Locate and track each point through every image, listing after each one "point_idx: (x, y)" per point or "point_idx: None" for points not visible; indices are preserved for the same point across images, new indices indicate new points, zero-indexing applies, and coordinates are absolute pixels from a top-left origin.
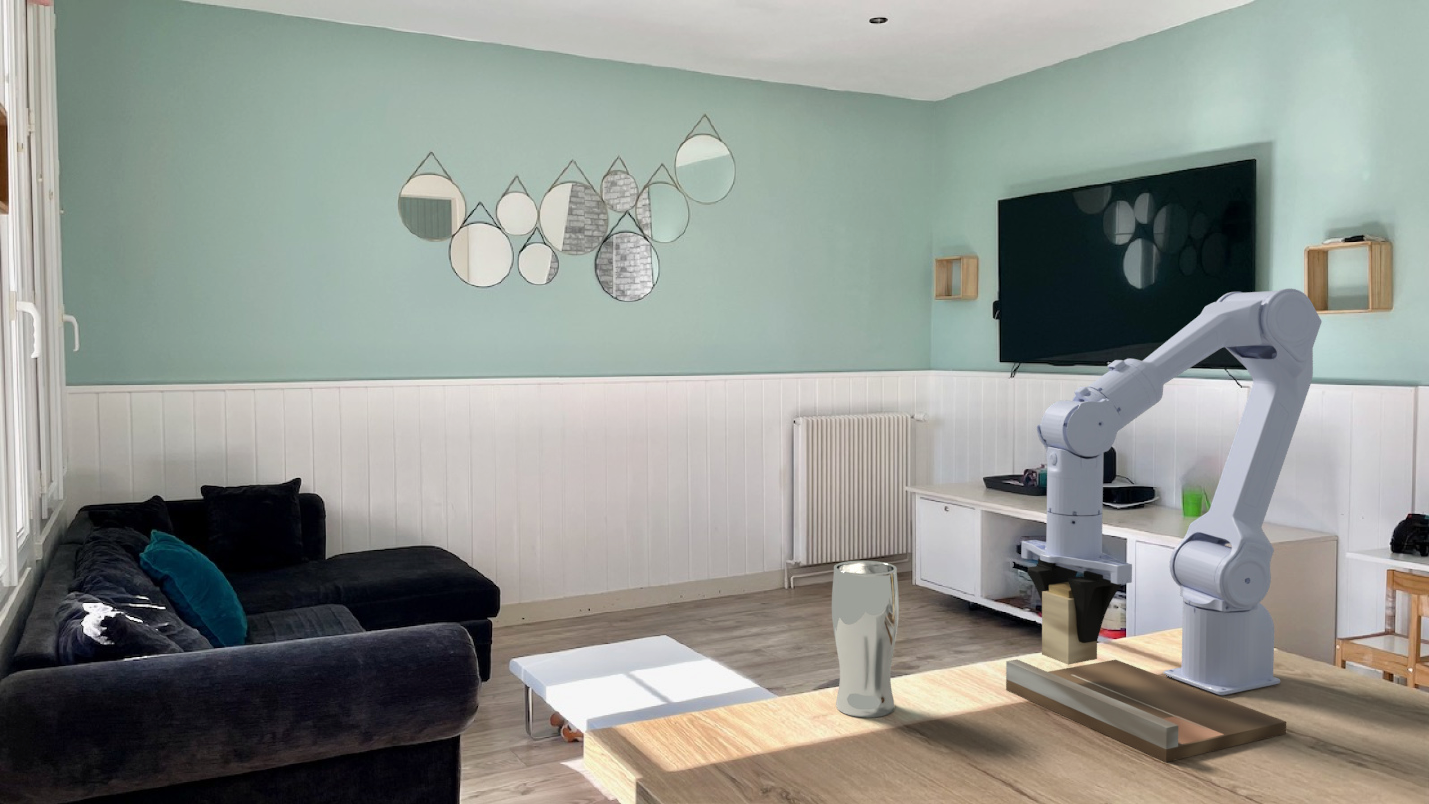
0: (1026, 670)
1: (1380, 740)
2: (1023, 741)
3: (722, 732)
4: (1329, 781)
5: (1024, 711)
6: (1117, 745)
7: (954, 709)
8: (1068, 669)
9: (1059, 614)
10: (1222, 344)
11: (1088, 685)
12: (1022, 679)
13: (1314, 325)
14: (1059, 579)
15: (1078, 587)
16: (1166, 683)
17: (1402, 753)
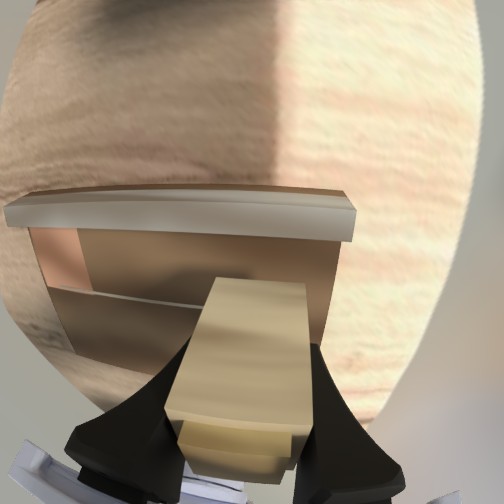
0: (282, 204)
1: (72, 374)
2: (122, 52)
3: None
4: (9, 282)
5: (229, 135)
6: (71, 175)
7: (302, 27)
8: (318, 328)
9: (223, 366)
10: None
11: None
12: (295, 197)
13: None
14: (302, 483)
15: (97, 439)
16: None
17: (53, 361)
